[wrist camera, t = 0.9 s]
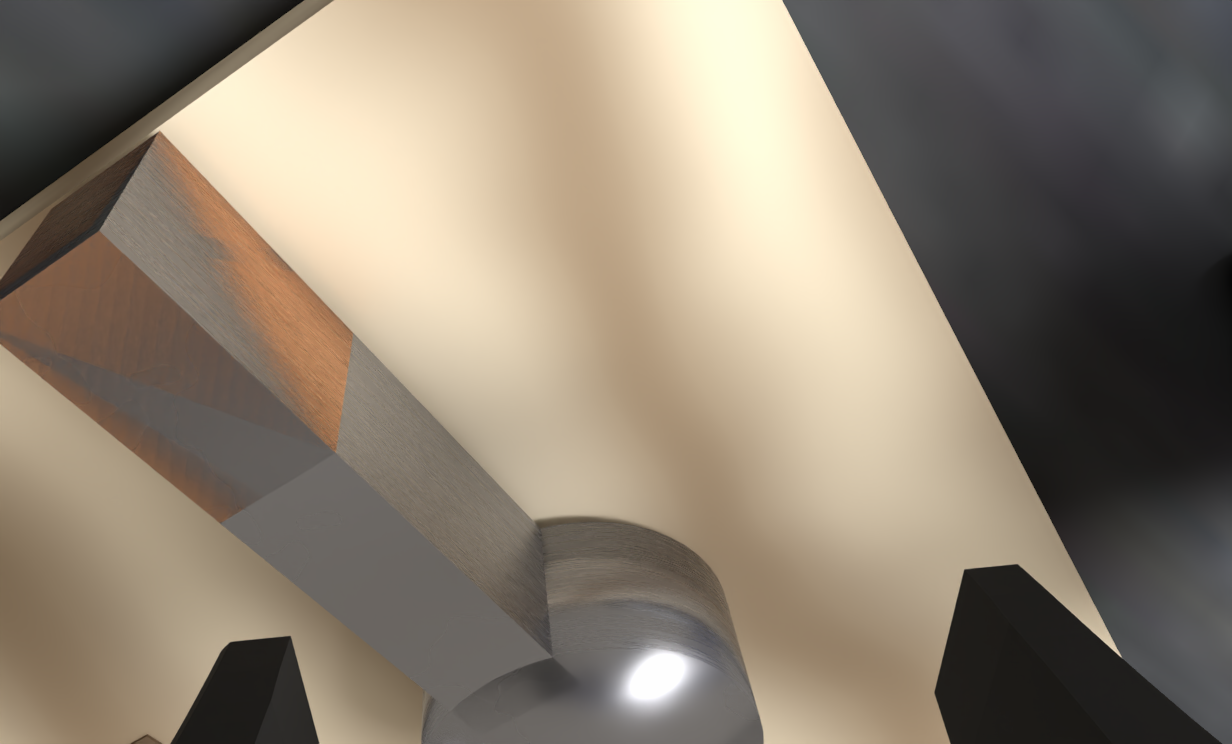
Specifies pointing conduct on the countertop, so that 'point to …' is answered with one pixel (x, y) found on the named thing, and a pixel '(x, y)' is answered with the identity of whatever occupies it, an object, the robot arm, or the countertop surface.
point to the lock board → (549, 361)
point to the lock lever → (361, 478)
